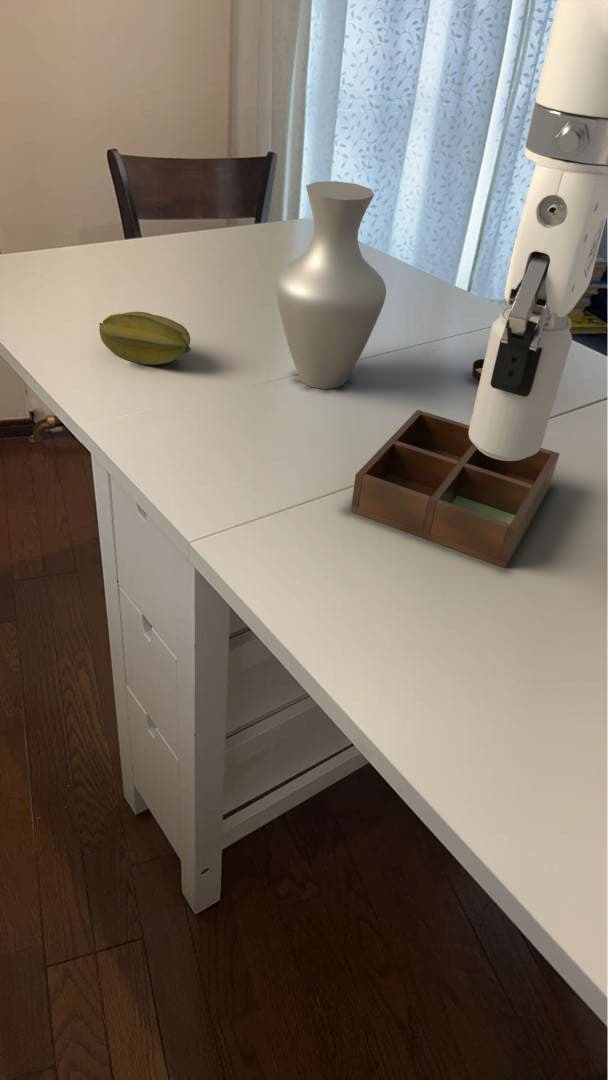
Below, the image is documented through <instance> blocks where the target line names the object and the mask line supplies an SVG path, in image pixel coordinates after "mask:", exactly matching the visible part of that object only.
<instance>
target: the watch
mask: <svg viewBox="0 0 608 1080" xmlns="http://www.w3.org/2000/svg"><path fill="white" fill-rule="evenodd" d="M484 360H485V358H479V359H476V360H475V361H473V363H472V370H471V376H472V378H473V379H474V380H475V381H476V382H478V383H480V378H481V374H482V372H480V371H478V370H479V369H483V365H484Z"/></svg>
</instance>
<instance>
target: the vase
mask: <svg viewBox="0 0 608 1080" xmlns="http://www.w3.org/2000/svg"><path fill="white" fill-rule="evenodd" d="M305 188H306V192H307V196H308V200H309V204H310V208H311V209H310V210H311V213H312V214H311V215H312V219H313V235H312V238H311V241H310V243H309V244H308V246H307V248H306V250H304V251H305V252H303V253H302V254H301V255H300V256H298V257H296V258H295V259H294V260H291V261H290V262H288V264H286V265H285V266H284V267H283V268H282V269H280V271H279V272H278V273H277V276H276V279H275V290H274V291H275V296H276V297H275V298H276V303H277V307H278V311H279V316H280V319H281V324H282V327H283V331H284V336H285V339H286V344H287V346H288V349H289V352H290V356H291V359H292V361H293V364H294V367H295V370H296V373H297V376H298V377H299V381H300V382H301V383H303V384H305V385H307V386H308V387H311V388H316V389H322V390H328V389H336V388H337V389H338V388H340V387H342V385H344V384H345V383H347V381H348V379H349V376H350V375H351V374H352V371H353V369H354V368H355V367H356V364H357V363H358V362H359V359H360V357H361V355H362V353H363V351H364V350H365V348H366V345H367V344H368V341H369V339H370V337H371V335H372V332H373V330H374V328H375V326H376V324H377V321H378V320H379V317H380V315H381V313H382V309H383V307H384V304H385V301H386V297H387V296H386V295H387V286H386V283H385V281H384V279H383V277H382V276H381V275H380V273H379V272H378V271H377V270H376V269H375V268H374V267H372V266H371V265H370V264H369V263H368V261H366V260H365V258H364V257H363V254H362V251H361V249H360V246H359V238H358V237H359V230H360V227H361V223H362V221H363V219H364V216H365V214H366V211H367V209H368V207H369V205H370V204H371V202H372V201H373V199H374V197H375V193H374V192H373V190H372V188H369V187H366V186H364V185H360V184H359V183H352V182H345V181H339V180H338V181H337V180H329V181H328V180H327V181H315V182H312V183H309V184H306V185H305Z"/></svg>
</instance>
